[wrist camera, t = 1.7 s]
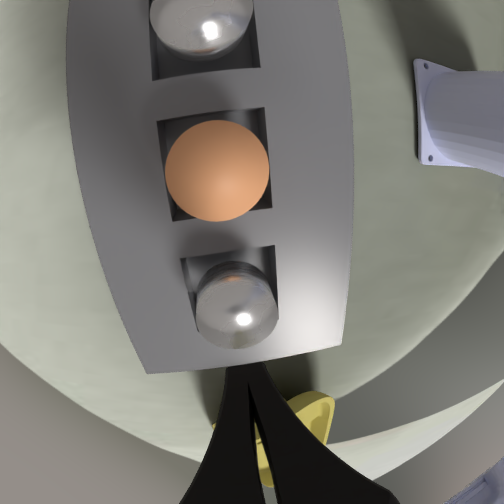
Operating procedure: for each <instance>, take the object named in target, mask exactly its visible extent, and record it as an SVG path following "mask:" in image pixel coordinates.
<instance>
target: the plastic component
mask: <svg viewBox="0 0 504 504" xmlns="http://www.w3.org/2000/svg"><path fill="white" fill-rule="evenodd" d="M284 400H285V399H284ZM285 401H286V400H285ZM286 402H287V404H288V405H289V406H290V408H291V409H292V410H293V412H294V413H295V414H296V416H297V417H298V418H299V419H300V420H301V421H302V423H303V424H304V425H305V426H306V427H307V428H308V429H309V431H310V432H311V433H312V434H313V435H314V436H315V437H316V438H317V439H318V440H319V441H320V442H321V443H322V444H324V445H326V441H327V438H328V434H329V430H330V425H331V421H332V417H333V412H334V405H335V404H334V399H333V398H332V397H330V396H328V395H326V394H324V393H321V392H317V391H309V392H305V393H302V394H300V395H297V396H295V397H293V398H292V399H290V400H288V401H286ZM254 421H255V419H254ZM215 425H216V423H214V424H213V425H212V427H213V430H214V428H215ZM255 433H256V444H257V455H258V466H259V473H260V479H261V483H263V484H264V485H265V486H267V487H274V485H273V480H272V476H271V471H270V468H269V464H268V461H267V458H266V455H265V452H264V448H263V445H262V442H261V439H260V436H259V432H258V429H257V426H256V423H255Z"/></svg>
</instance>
